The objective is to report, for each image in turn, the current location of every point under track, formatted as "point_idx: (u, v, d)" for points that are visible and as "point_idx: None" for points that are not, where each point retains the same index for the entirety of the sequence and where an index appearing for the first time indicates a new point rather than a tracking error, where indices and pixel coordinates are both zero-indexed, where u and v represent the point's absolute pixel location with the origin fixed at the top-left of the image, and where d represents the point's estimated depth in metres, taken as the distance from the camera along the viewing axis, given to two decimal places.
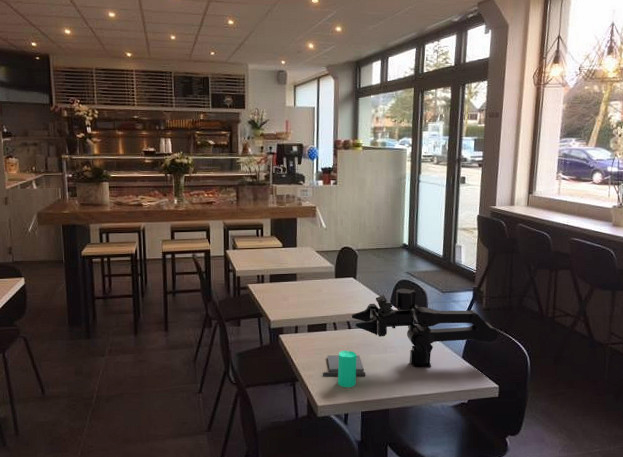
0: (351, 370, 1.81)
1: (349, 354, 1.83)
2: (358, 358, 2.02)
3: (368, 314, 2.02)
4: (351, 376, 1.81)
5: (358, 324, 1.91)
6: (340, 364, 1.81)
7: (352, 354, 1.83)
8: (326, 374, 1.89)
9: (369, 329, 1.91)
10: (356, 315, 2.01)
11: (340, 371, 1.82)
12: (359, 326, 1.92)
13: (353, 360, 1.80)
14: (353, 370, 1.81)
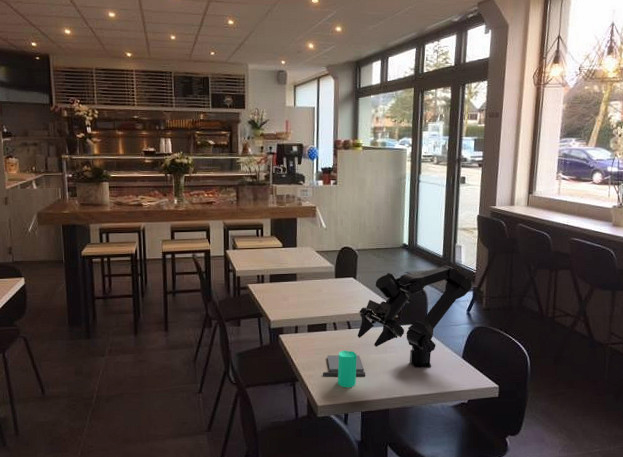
0: (351, 370, 1.81)
1: (349, 354, 1.83)
2: (358, 358, 2.02)
3: (368, 321, 1.92)
4: (351, 376, 1.81)
5: (377, 343, 1.82)
6: (340, 364, 1.81)
7: (352, 354, 1.83)
8: (326, 374, 1.89)
9: (387, 338, 1.83)
10: (361, 332, 1.90)
11: (340, 371, 1.82)
12: (378, 344, 1.82)
13: (353, 360, 1.80)
14: (353, 370, 1.81)
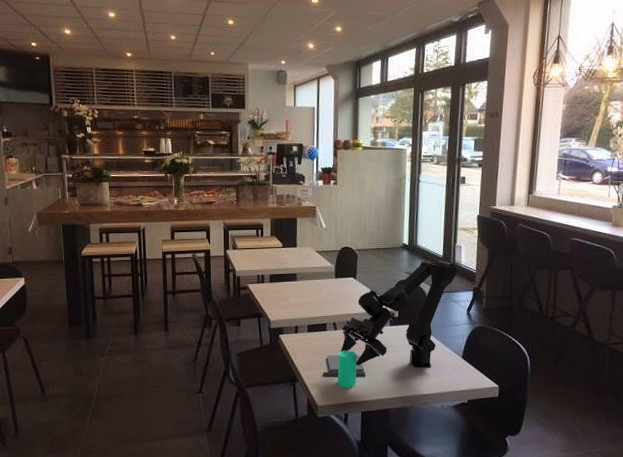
0: (351, 370, 1.81)
1: (349, 354, 1.83)
2: (358, 358, 2.02)
3: (350, 339, 1.89)
4: (351, 376, 1.81)
5: (359, 362, 1.79)
6: (340, 364, 1.81)
7: (352, 354, 1.83)
8: (326, 374, 1.89)
9: (370, 357, 1.80)
10: (343, 350, 1.87)
11: (340, 371, 1.82)
12: (360, 362, 1.79)
13: (353, 360, 1.80)
14: (353, 370, 1.81)
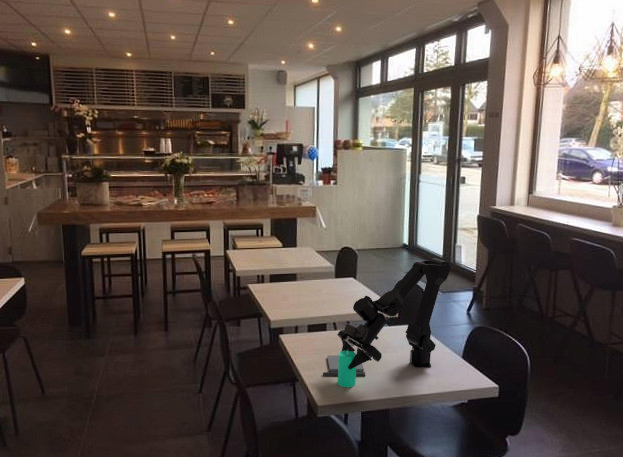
0: (351, 370, 1.81)
1: (349, 354, 1.83)
2: None
3: (349, 346, 1.86)
4: (351, 376, 1.81)
5: (351, 366, 1.80)
6: (340, 364, 1.81)
7: (352, 354, 1.83)
8: (326, 374, 1.89)
9: (361, 361, 1.81)
10: None
11: (340, 371, 1.82)
12: (352, 367, 1.80)
13: None
14: (353, 370, 1.81)
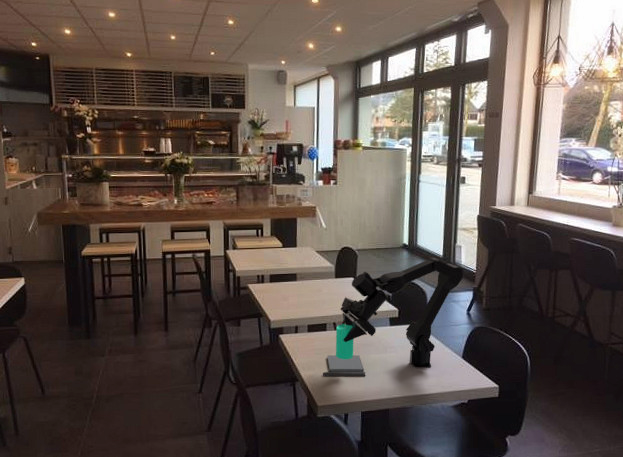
0: (347, 342, 1.86)
1: (347, 327, 1.89)
2: (358, 358, 2.02)
3: (349, 321, 1.92)
4: (347, 348, 1.87)
5: (346, 339, 1.86)
6: (337, 336, 1.88)
7: (350, 328, 1.89)
8: (326, 374, 1.89)
9: (357, 334, 1.86)
10: None
11: (337, 343, 1.88)
12: (348, 339, 1.86)
13: None
14: (349, 343, 1.87)
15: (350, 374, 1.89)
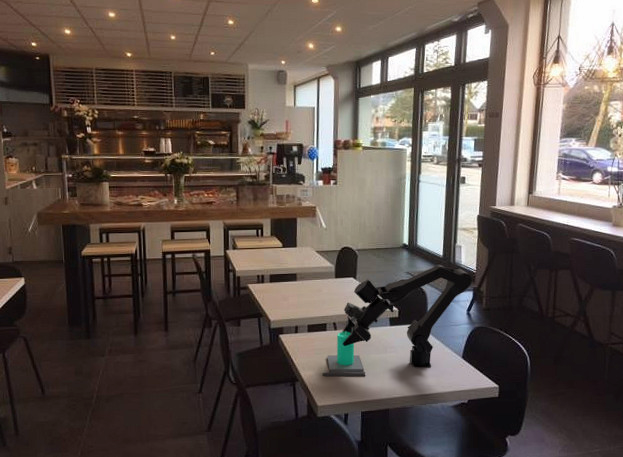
0: (345, 349, 1.95)
1: (348, 335, 1.97)
2: (358, 358, 2.02)
3: (352, 324, 2.01)
4: (345, 355, 1.95)
5: (345, 343, 1.93)
6: (337, 342, 1.97)
7: None
8: (326, 374, 1.89)
9: (355, 340, 1.92)
10: None
11: (337, 349, 1.98)
12: (346, 344, 1.93)
13: None
14: (348, 350, 1.95)
15: (350, 374, 1.89)
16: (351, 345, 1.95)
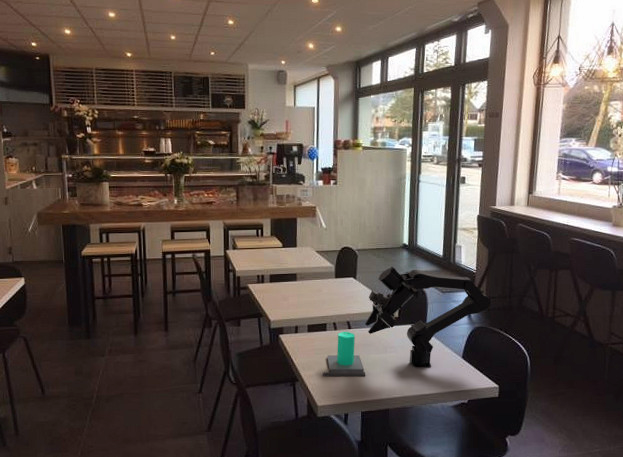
0: (345, 349, 1.95)
1: (348, 335, 1.97)
2: (358, 358, 2.02)
3: (377, 312, 2.02)
4: (345, 355, 1.95)
5: (370, 331, 1.92)
6: (338, 342, 1.97)
7: (351, 336, 1.97)
8: (326, 374, 1.89)
9: (381, 327, 1.91)
10: (368, 321, 2.02)
11: (338, 349, 1.98)
12: (372, 331, 1.92)
13: (348, 341, 1.94)
14: (348, 350, 1.95)
15: (350, 374, 1.89)
16: (351, 345, 1.96)
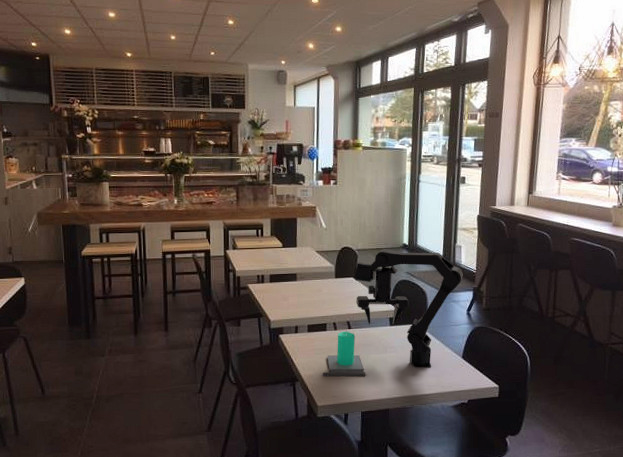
0: (346, 349, 1.95)
1: (348, 335, 1.97)
2: (358, 358, 2.02)
3: (395, 307, 2.04)
4: (345, 355, 1.95)
5: None
6: (338, 342, 1.97)
7: (351, 336, 1.97)
8: (326, 374, 1.89)
9: None
10: (393, 319, 2.05)
11: (338, 349, 1.98)
12: (368, 321, 2.04)
13: (348, 341, 1.94)
14: (348, 350, 1.95)
15: (350, 374, 1.89)
16: (351, 345, 1.96)
